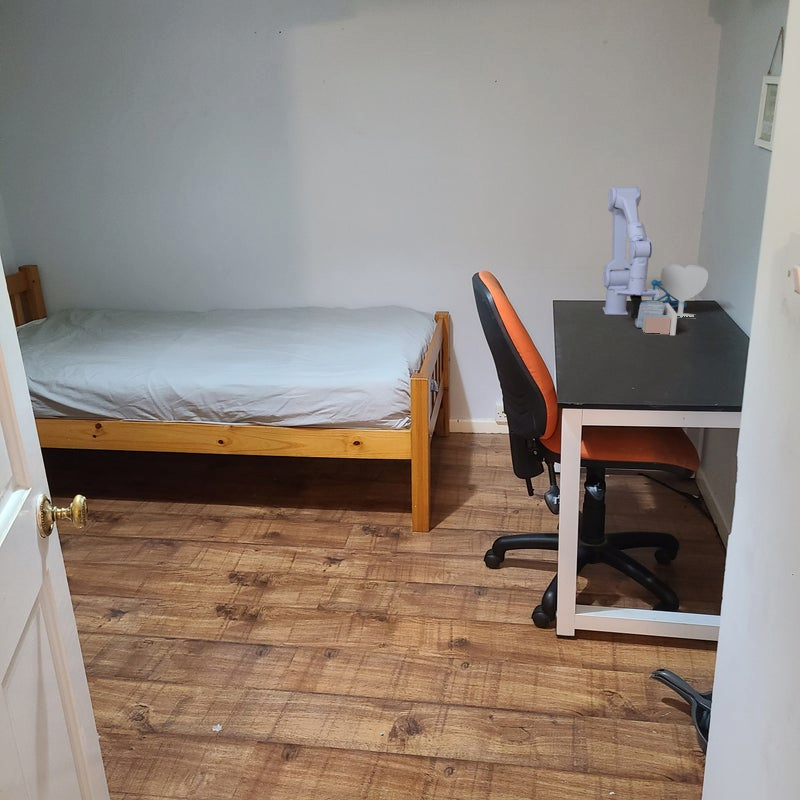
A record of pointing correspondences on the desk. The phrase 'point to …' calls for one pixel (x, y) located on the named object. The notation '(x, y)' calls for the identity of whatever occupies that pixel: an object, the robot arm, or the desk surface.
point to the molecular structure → (667, 300)
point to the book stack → (661, 322)
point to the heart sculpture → (683, 282)
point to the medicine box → (648, 310)
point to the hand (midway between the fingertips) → (634, 317)
